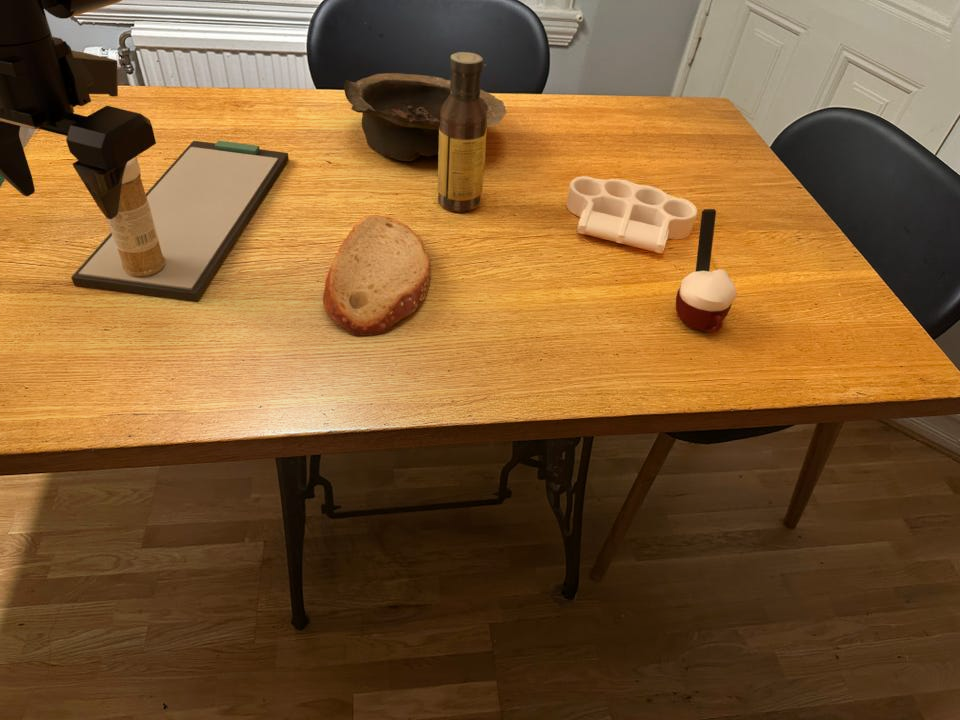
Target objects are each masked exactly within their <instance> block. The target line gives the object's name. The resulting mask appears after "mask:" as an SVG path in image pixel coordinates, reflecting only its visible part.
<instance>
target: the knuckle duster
mask: <svg viewBox="0 0 960 720" xmlns="http://www.w3.org/2000/svg"><path fill="white" fill-rule="evenodd" d="M565 206H566V209H567V210H568V211H569V212H570V213H571V214H573V215H574V216H576V217H579V221H578V224H577V227H576V233H578V234H581V235H586V236H589V237H595V238H597V239H602V240H606V241H611V242H614V243H617V244H623V245H626V246H630V247H634V248H638V249H642V250H646V251H649V252H653V253H657V254H663V253H664V250H665V247H666V243H667V241H668V240H683V239H685V238H687V237H689V236H690V235H691V233H692V230H693V228H694V224H695V223H696V219H697V216H698V208H697V207H696V204H694V203H693V202H692V201H690V200H688V199H686V198H681V197H677V196H673V195H670V194H668V193H667V192H665V191H663V190H662V189H660V188H657V187H655V186H652V185H647V184H638V183H635V182H631V181H629V180H627V179H620V178H610V179H602V178H595V177H591V176H589V175H582V176H577V177H575V178H573V179H572V180H571V181H570V182H569V186H568V191H567V196H566V201H565Z"/></svg>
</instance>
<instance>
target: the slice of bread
mask: <svg viewBox="0 0 960 720" xmlns="http://www.w3.org/2000/svg"><path fill="white" fill-rule="evenodd" d="M425 251H426V250H425V246H424V242H423V241H422V239H421V238H420V236H419V235H418V234H417V233H416V232H414V230H412V228H411V227H409V226H408V225H406V224H404V223H403V222H401V221H399V220H397V219H394V218H391V217H389V216H388V217H387V216H383V215H379V214H370V215H365V216H363V217H362V218H361V219H360V220H358V221H357V223H355V224H354V226H352V229H351V230H350V231H349V233H348V235H347V236H346V237H345V239H344V241H343V242H342V244H341V246H340V247H339V249H338V251H337V253H336V255H335V257H334V258H333V261H332V263H331V264H330V267H329V269H328V273H327V276H326V279H325V282H324V289H323V290H324V291H323V295H322V297H323V298H322V299H323V301H322V302H323V307H324V310H325V311H326V312H327V314H328V316H329V317H330V318H331V319H332V320H333V321H334V322H335V323H336V324H337V325H339V326H341V327H342V328H344V330H346V331H347V332H348V333H349V334H351V335H354V336H359V337H360V336H367V335H379V334H384V333H386V332H388V330H390V328H391V327H392V326H394V325H395V324H396V323H398V322H400V321H401V320H403V319H405V318H407V317H409V316H411V315H412V314H413V313H415V311H416V310H418V308H419V307H420V306H421V304H422V303H423V302H424V299H425V297H426V296H427V292H428V288H429V285H430V282H431V273H432V267H431V260H430V257H429V256H428V255H427V254H426V252H425Z"/></svg>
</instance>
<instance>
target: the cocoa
mask: <svg viewBox="0 0 960 720" xmlns="http://www.w3.org/2000/svg"><path fill="white" fill-rule="evenodd" d="M716 215H717V210H716V209H715V208H705V209H703V210H702V211H701V217H700V224H699V225H700V226H699V235H698V245H697V255H696V263H695V270H694V271H692V272H691V273H689V274H688V275H686V276H684V277H683V278H682V279H681V283H680V285H679V288H678V290H677V293H676V296H675V311H676V315H677V317H678V319H679V321H680V322H682V323H683V324H684V325H685V326H687V327H689V328H691V329H694V330H699V331H705V332H707V333H714V332H719V331H720V330H721V329H722V326H723V321H725V319H726V317H727V316H728V314H729V312H730V310H731V307H732V305H733V303H734V302H735V299H736V298H737V296H738V291H737V290H736V287H735V286H736V285H735V282H734V280H733V279H732V278H731V277H730V276H729V274H728V272H727V270H726V269H721V268H718V269H714V270H711V271H710V269H711V261H712V253H713V243H714V242H713V241H714V234H715V224H716Z"/></svg>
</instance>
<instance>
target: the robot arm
mask: <svg viewBox="0 0 960 720" xmlns="http://www.w3.org/2000/svg"><path fill="white" fill-rule="evenodd" d="M120 2H123V0H0V176H1V177H2V178H3V179H4V180H5V181H6V182H7V183H9V184H10V185H11V186H12V187H13V188H14V189H15V190H16V191H18V193H20V194H21V195H22V196H24V197H30V196H31V195H33V194H34V193H35V191H36V189H35V184H34V179H33V176H32V172H31V168H30V165H29V163H28V159H27V156H26V153H25V149H24V147H23V144H22V141H21V137H20V131H21V127H22V128H26V129H31V130H41V131H46V132H50V133H53V134H57V135H61V136H65V137H66V139H65V141H66V144H67V147H68V151H69V153H70V154H71V155H72V156H73V157H74V158H75V159H76V161H74V162H73V163H71V165H72V167H73V168H74V170H75V172H76V173H77V175H78V177H79V178H80V180H81V181H82V183H83V184H84V186H85V187H86V190H87V191H88V193H89V194H90V196H91V198H92V199H93V201H94V202H95V204H96V206H97V207H98V209H99V210H100V211H101V213H102V214H103V215H104V217H105V218H106V220H107V219H113V218H114V217H115V216H117V214H118V209H119V202H120V194H121V187H122V180H123V175H124V171H125V167H126V164H127V162H128V161H130V160H131V159H133V158H135V157H138V156H140V155H141V154H142V153H144V152H146V151H147V150H149V149H150V148H152V147H153V146H155V145H156V144H157V141H156V137H155V133H154V129H153V128H154V127H153V125H152V122H151V119H149V118H148V117H146V116H145V115H144V114H142V113H139V112H136V111H131V110H127V109H123V108H120V107H114V106H111V105H105V106H103V107H101V108H100V109H98V110H96V111H94V112H92V113H90V114H88V115H87V116H86V115H83V114H78V113H74V112H75V109H74V108H75V107H77V106H78V107H84V106H86V105H87V104H89V103H91V102H92V99H91V96H90V95H108V96H109V97H118V96H119V80H118V79H119V77H118V75H119V74H118V73H119V72H118V60H117V59H114V58H109V57H105V56H101V55H97V54H93V53H92V54H91V53H87V52H84V51H83V52H82V51H77V50H73V49H72V48H71V46H70V45H69V44H68V43H67V41H65V40H63V38H61V37H56V36H53V34H52V31H51V28H50V25H49V21H48V18H47V15H46V12H47V13H48V14H49V15H51V16H53V17H54V18H58V19H69V18H73V17H76V16H80V15H83V14H86V13H89V12H92V11H96V10H100V9H102V8H104V7H109V6H112V5H115V4H118V3H120Z"/></svg>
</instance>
